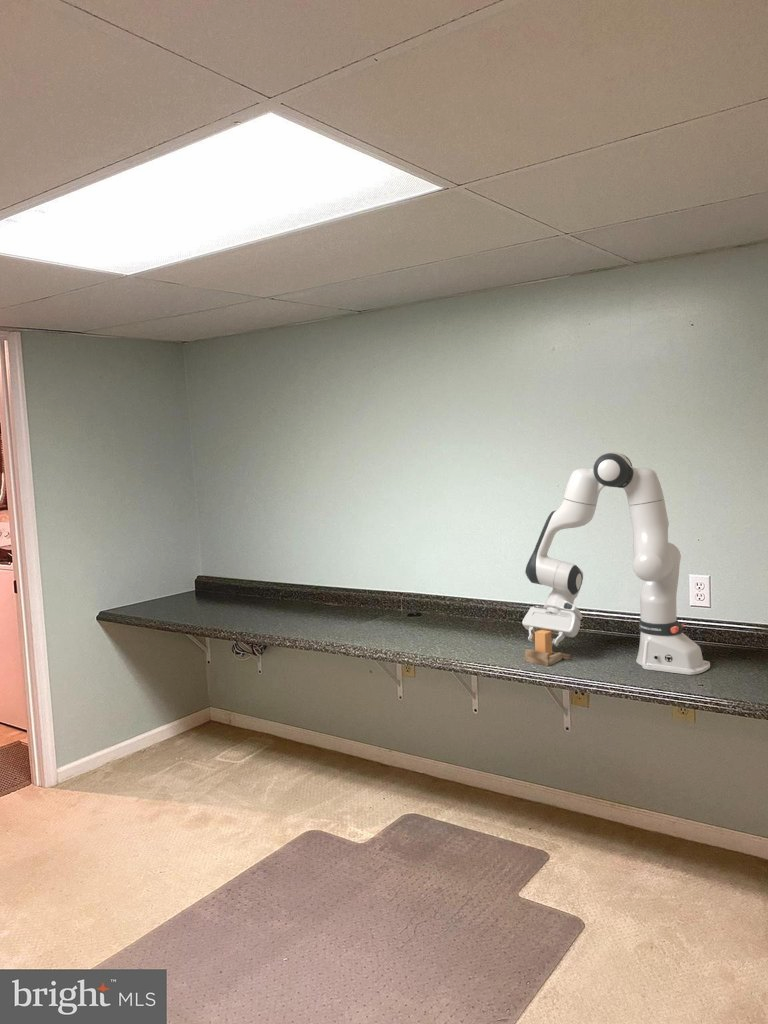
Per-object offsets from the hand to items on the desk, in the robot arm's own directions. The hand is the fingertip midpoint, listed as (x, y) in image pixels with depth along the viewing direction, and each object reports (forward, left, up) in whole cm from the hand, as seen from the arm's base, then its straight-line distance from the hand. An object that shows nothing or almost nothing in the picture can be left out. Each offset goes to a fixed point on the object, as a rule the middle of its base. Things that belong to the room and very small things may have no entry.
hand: (542, 642), depth 260 cm
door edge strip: (0, -7, -6) cm, 10 cm away
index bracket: (0, -1, -6) cm, 6 cm away
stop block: (0, -1, -6) cm, 6 cm away
